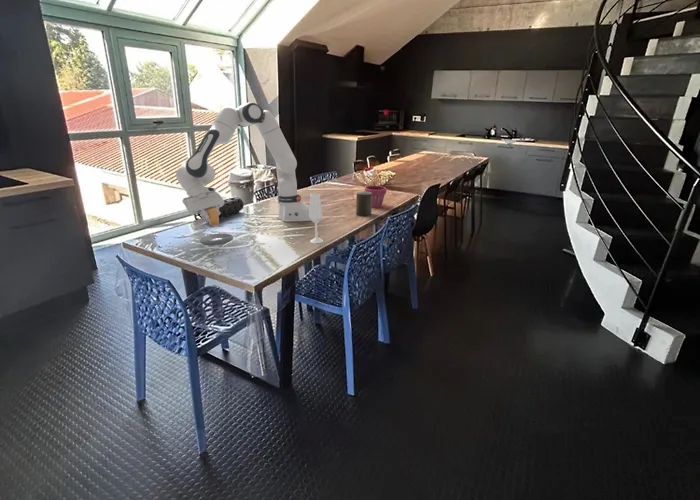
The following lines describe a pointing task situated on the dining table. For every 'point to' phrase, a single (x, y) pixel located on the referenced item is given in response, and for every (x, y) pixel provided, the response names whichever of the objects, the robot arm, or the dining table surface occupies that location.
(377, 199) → the plant pot
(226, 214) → the muzzle brake
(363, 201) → the pillar candle
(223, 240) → the slate plate
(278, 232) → the dining table surface
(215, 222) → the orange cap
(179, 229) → the dining table surface
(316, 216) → the champagne flute
